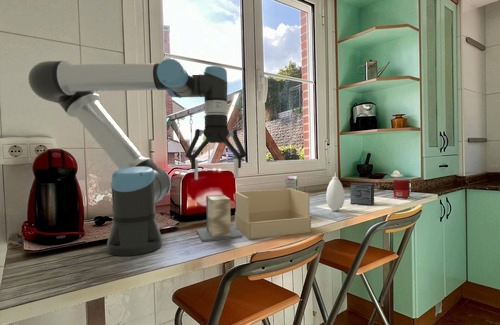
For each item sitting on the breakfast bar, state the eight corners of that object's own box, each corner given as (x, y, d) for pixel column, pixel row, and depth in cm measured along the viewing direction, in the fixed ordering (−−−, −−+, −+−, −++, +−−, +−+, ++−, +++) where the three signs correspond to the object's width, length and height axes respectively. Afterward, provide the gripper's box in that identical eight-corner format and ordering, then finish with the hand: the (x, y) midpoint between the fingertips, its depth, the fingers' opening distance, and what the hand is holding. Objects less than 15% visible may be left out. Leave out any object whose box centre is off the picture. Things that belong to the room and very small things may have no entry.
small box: (374, 204, 151) (374, 183, 151) (372, 206, 146) (372, 184, 146) (353, 202, 157) (353, 182, 157) (350, 204, 152) (350, 183, 151)
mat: (202, 241, 93) (202, 239, 93) (196, 230, 105) (196, 229, 105) (242, 237, 97) (242, 235, 97) (232, 227, 109) (232, 225, 109)
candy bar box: (287, 212, 134) (287, 175, 134) (298, 212, 133) (298, 175, 133) (285, 217, 123) (285, 178, 123) (297, 218, 122) (297, 178, 122)
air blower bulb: (337, 208, 141) (337, 170, 140) (347, 211, 134) (347, 171, 133) (323, 209, 139) (323, 171, 138) (332, 213, 131) (332, 172, 130)
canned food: (412, 199, 164) (412, 179, 164) (397, 199, 164) (397, 179, 164) (405, 196, 172) (405, 177, 171) (391, 196, 172) (391, 177, 172)
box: (212, 237, 95) (211, 200, 94) (206, 229, 104) (206, 195, 104) (230, 235, 97) (230, 198, 96) (223, 228, 106) (223, 194, 106)
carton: (248, 239, 95) (248, 198, 94) (235, 227, 110) (234, 191, 109) (311, 232, 102) (311, 194, 101) (290, 221, 117) (290, 188, 116)
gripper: (178, 112, 92) (179, 181, 93) (255, 114, 100) (255, 178, 101) (176, 115, 99) (177, 178, 100) (248, 117, 107) (248, 176, 108)
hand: (216, 178), depth 100 cm, fingers open, 13 cm apart
